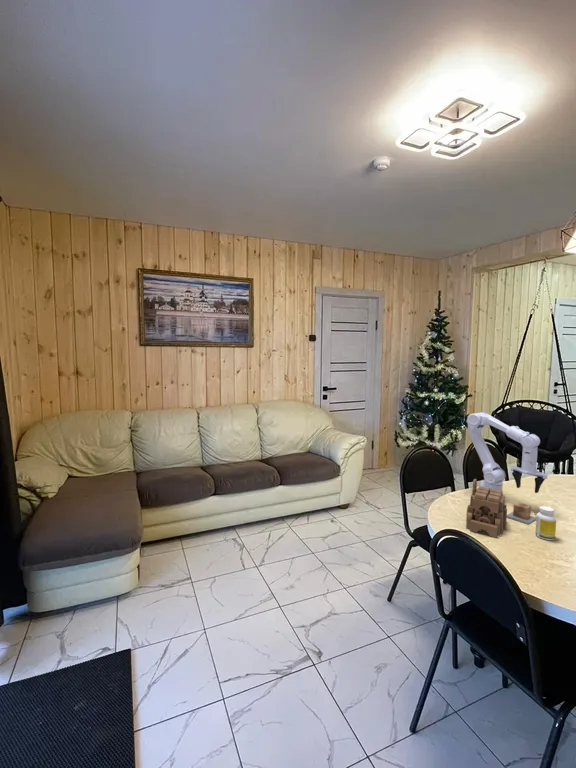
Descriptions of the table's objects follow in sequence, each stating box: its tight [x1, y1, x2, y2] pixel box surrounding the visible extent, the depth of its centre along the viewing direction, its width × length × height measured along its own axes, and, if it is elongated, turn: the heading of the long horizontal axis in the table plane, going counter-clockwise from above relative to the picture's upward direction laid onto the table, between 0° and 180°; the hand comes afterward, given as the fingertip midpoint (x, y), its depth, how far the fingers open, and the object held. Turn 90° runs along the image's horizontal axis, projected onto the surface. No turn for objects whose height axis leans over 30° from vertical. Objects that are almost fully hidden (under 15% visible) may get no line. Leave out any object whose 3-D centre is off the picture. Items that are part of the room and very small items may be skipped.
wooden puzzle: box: [465, 478, 508, 539], centre depth 159 cm, size 22×15×19 cm, turn 145°
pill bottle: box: [535, 505, 557, 541], centre depth 149 cm, size 6×6×12 cm
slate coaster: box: [507, 511, 536, 525], centre depth 166 cm, size 9×9×1 cm
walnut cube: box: [512, 501, 532, 520], centre depth 166 cm, size 5×5×5 cm
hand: (527, 489), depth 174 cm, fingers open, 7 cm apart
